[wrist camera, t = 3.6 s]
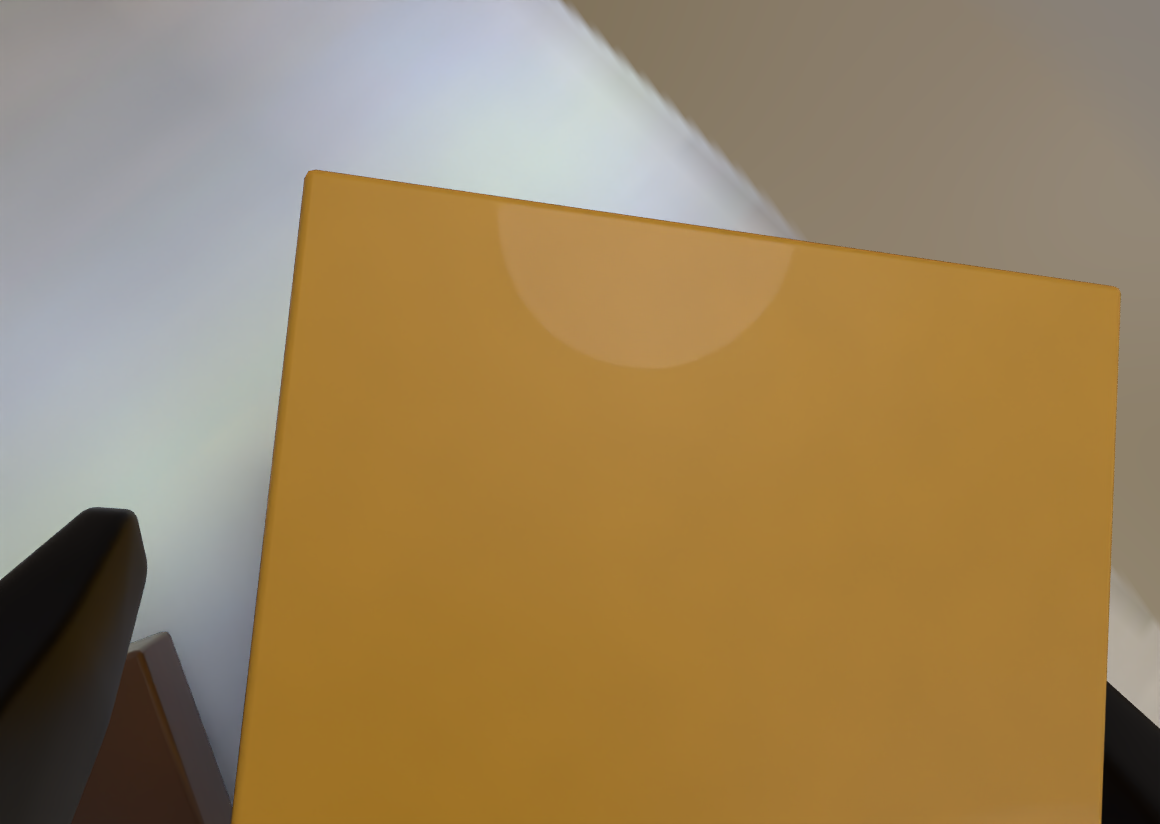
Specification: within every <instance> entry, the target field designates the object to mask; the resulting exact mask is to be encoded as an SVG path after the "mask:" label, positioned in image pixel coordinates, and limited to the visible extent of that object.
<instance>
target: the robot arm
mask: <svg viewBox="0 0 1160 824" xmlns="http://www.w3.org/2000/svg"><path fill="white" fill-rule="evenodd" d="M146 575H147V559H146V554H145V550H144V546H143V541H142V537H141V532H140V528H139V523H138V519H137V517H136V515H135V514H134V512H132V511H131V510H128V509H117V508H103V507H93V508H89V509H87V510H85V511H83V512H82V513H80V514H79V515H78V516H77V517H75V518H74V519H73V520H72V521H71V522H69V523H68V524H67V525H66V526H65V527H63V528H62V529H61V530H60V531H59V532H57V533H56V534H55V535H54V536H53V537H51V538H50V539H49V540H48V541H47V542H45V543H44V544H43V545H42V546H41V547H39V548H38V549H37V550H36V551H35V552H34V553H32V554H31V555H30V556H29V557H28V558H26V559H25V560H24V561H23V562H22V563H20V564H19V565H18V566H17V567H16V568H14V569H13V570H12V571H11V572H10V573H8V574H7V575H6V576H5V577H4V578H2V579H1V580H0V824H71V822H72V820H73V817H74V814H75V812H76V809H77V807H78V804H79V801H80V799H81V796H82V794H83V791H84V789H85V786H86V783H87V781H88V778H89V776H90V773H91V771H92V768H93V765H94V763H95V760H96V758H97V755H98V752H99V750H100V747H101V744H102V742H103V739H104V736H105V733H106V730H107V727H108V725H109V721H110V717H111V714H112V710H113V707H114V703H115V699H116V695H117V692H118V688H119V684H120V680H121V676H122V672H123V668H124V664H125V660H126V656H127V653H128V649H129V645H130V641H131V637H132V633H133V629H134V625H135V621H136V617H137V613H138V610H139V606H140V602H141V598H142V594H143V590H144V586H145V582H146ZM1101 824H1160V728H1158V727H1157V726H1156V725H1155V724H1154V723H1153V722H1152V721H1151V720H1150V719H1148V718H1147V717H1146V716H1145V715H1144V714H1143V713H1142V712H1141V711H1140V710H1138V709H1137V708H1136V707H1135V706H1134V705H1133V704H1132V703H1131V702H1130V701H1128V700H1127V699H1126V698H1125V697H1124V696H1123V695H1122V694H1121V693H1120V692H1118V691H1117V690H1116V689H1115V688H1114V687H1113V686H1112V685H1111V684H1110V683H1108V682H1107V681H1106V708H1105V735H1104V762H1103V789H1102V816H1101Z"/></svg>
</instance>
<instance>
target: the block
mask: <svg viewBox="0 0 1160 824" xmlns="http://www.w3.org/2000/svg"><path fill="white" fill-rule="evenodd" d="M1120 300H1121V293H1120V290H1119V289H1118V288H1116V287H1113V286H1108V285H1101V284H1094V283H1088V282H1081V281H1074V280H1066V279H1060V278H1053V277H1046V276H1039V275H1033V274H1026V273H1019V272H1013V271H1006V270H999V269H992V268H985V267H978V266H971V265H965V264H957V263H951V262H944V261H937V260H930V259H924V258H917V257H909V256H903V255H896V254H889V253H882V252H876V251H869V250H862V249H855V248H848V247H841V246H835V245H828V244H820V243H814V242H807V241H800V240H794V239H787V238H780V237H773V236H766V235H759V234H753V233H746V232H739V231H732V230H725V229H718V228H712V227H705V226H698V225H691V224H684V223H677V222H670V221H664V220H657V219H650V218H643V217H636V216H629V215H623V214H616V213H609V212H602V211H595V210H588V209H582V208H575V207H568V206H561V205H554V204H547V203H540V202H534V201H527V200H520V199H513V198H506V197H499V196H493V195H486V194H479V193H472V192H465V191H458V190H452V189H445V188H438V187H431V186H424V185H417V184H411V183H404V182H397V181H390V180H383V179H376V178H369V177H363V176H356V175H349V174H342V173H335V172H328V171H322V170H312V171H308V173H307V175H306V176H305V178H304V187H303V195H302V204H301V213H300V222H299V230H298V239H297V248H296V257H295V265H294V274H293V283H292V292H291V300H290V309H289V318H288V327H287V336H286V344H285V353H284V362H283V371H282V379H281V388H280V397H279V406H278V414H277V423H276V432H275V441H274V449H273V458H272V467H271V476H270V484H269V493H268V502H267V511H266V520H265V528H264V537H263V546H262V555H261V563H260V572H259V581H258V590H257V598H256V607H255V616H254V625H253V633H252V642H251V651H250V660H249V668H248V677H247V686H246V695H245V704H244V712H243V721H242V730H241V739H240V747H239V756H238V765H237V774H236V782H235V791H234V800H233V809H232V817H231V824H1101V816H1102V789H1103V762H1104V735H1105V708H1106V681H1107V654H1108V627H1109V600H1110V573H1111V545H1112V518H1113V491H1114V463H1115V436H1116V410H1117V383H1118V381H1117V380H1118V356H1119V329H1120V327H1119V326H1120Z"/></svg>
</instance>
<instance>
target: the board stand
mask: <svg viewBox="0 0 1160 824" xmlns="http://www.w3.org/2000/svg"><path fill="white" fill-rule="evenodd" d="M232 809H233V807H232V804H231V802H230V799H229V796H228V793H227V791H226V788H225V785H224V782H223V779H222V777H221V774H220V771H219V768H218V766H217V763H216V760H215V757H214V755H213V752H212V749H211V746H210V744H209V741H208V738H207V735H206V732H205V730H204V727H203V724H202V721H201V719H200V716H199V713H198V710H197V708H196V705H195V702H194V699H193V696H192V694H191V691H190V688H189V685H188V683H187V680H186V677H185V674H184V672H183V669H182V666H181V663H180V661H179V658H178V655H177V652H176V649H175V647H174V644H173V641H172V638H171V636H170V634H169V633H168V632H159V633H157V634H154V635H151V636H149V637H146V638H143V639H141V640H138V641H135V642H133V643H130V645H129V649H128V653H127V656H126V660H125V664H124V668H123V672H122V676H121V680H120V684H119V688H118V692H117V695H116V699H115V703H114V707H113V710H112V714H111V717H110V721H109V725H108V727H107V730H106V733H105V736H104V739H103V742H102V744H101V747H100V750H99V752H98V755H97V758H96V760H95V763H94V765H93V768H92V771H91V773H90V776H89V778H88V781H87V783H86V786H85V789H84V791H83V794H82V796H81V799H80V801H79V804H78V807H77V809H76V812H75V814H74V817H73V820H72V822H71V824H231V817H232Z"/></svg>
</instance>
